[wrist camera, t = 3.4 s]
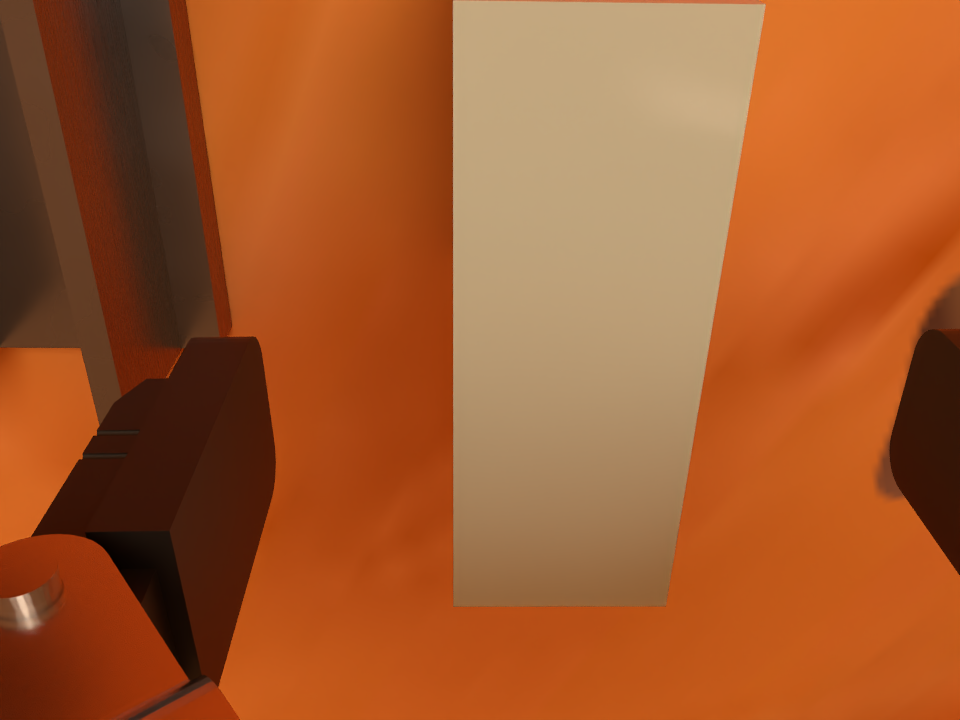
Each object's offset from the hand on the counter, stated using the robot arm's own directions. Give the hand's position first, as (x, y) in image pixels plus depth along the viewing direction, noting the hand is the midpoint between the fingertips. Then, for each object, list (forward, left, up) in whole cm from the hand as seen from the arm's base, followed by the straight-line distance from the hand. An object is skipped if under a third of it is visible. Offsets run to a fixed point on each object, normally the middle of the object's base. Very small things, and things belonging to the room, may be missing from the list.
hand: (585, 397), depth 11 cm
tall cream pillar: (-1, 0, -12) cm, 12 cm away
